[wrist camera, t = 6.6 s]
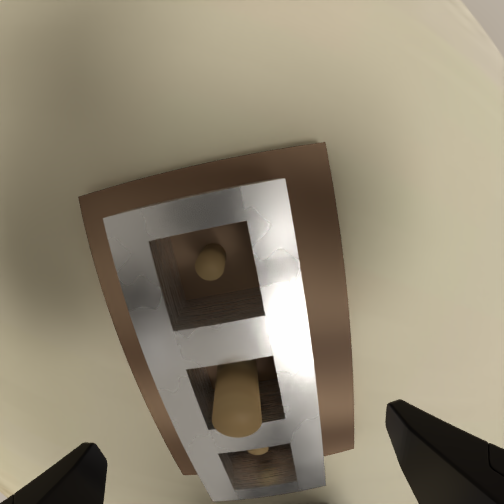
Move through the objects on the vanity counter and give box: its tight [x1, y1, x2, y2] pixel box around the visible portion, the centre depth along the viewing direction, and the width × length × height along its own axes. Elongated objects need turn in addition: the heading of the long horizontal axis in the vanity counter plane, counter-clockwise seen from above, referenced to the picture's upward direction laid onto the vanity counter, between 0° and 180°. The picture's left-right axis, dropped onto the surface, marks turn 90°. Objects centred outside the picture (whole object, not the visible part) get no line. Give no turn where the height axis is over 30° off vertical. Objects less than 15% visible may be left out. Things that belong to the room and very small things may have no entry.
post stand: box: [78, 142, 354, 475], centre depth 12 cm, size 16×10×5 cm, turn 11°
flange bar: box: [103, 178, 326, 502], centre depth 12 cm, size 14×6×3 cm, turn 11°
